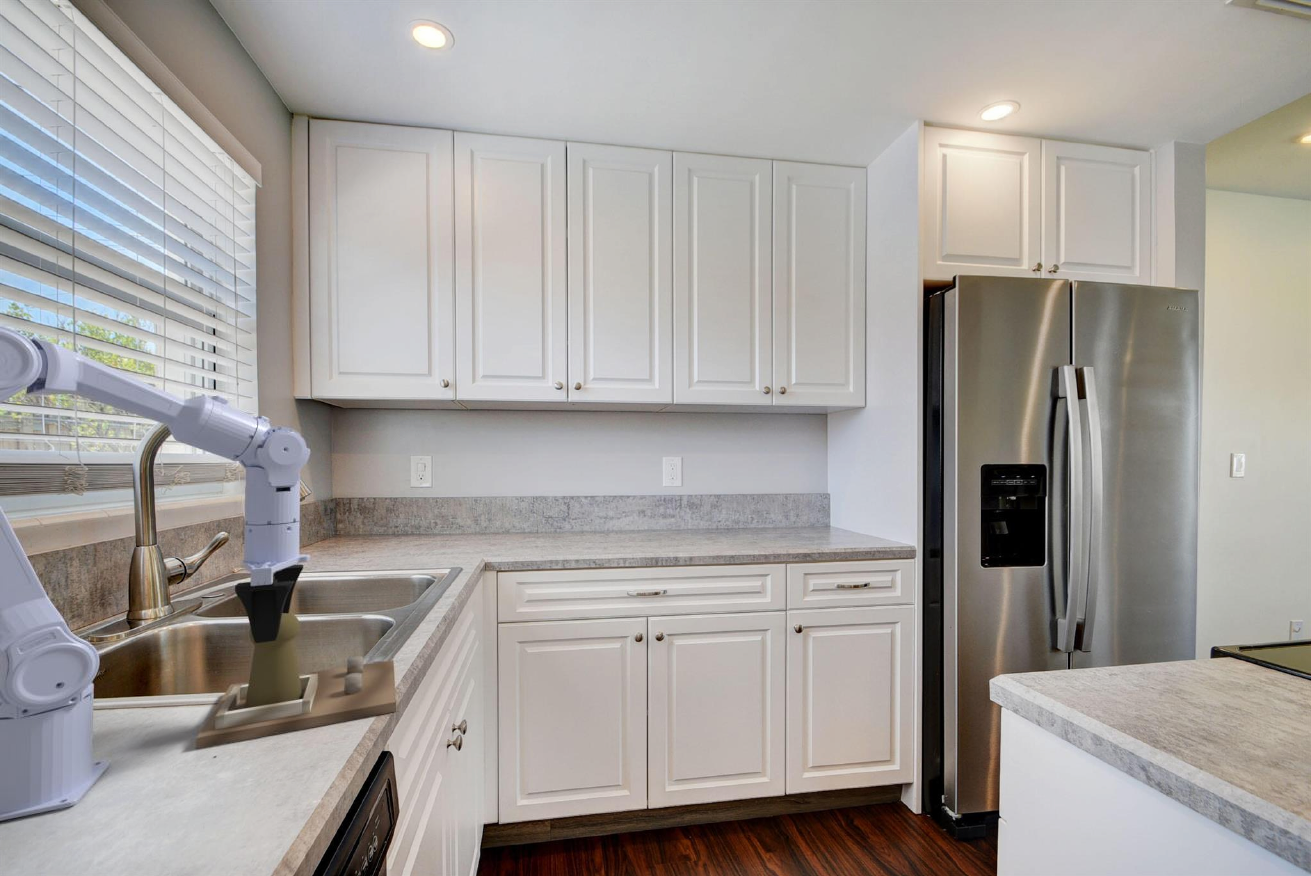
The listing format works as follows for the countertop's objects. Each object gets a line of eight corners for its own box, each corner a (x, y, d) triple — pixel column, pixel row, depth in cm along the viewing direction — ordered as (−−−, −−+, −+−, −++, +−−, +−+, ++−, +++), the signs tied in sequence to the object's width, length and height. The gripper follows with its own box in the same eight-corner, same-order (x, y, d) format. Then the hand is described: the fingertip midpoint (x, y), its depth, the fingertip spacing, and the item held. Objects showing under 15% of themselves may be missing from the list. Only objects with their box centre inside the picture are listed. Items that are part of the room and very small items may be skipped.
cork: (235, 718, 67) (236, 624, 67) (255, 697, 73) (255, 611, 73) (294, 711, 69) (295, 619, 69) (308, 691, 74) (309, 606, 75)
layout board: (196, 748, 62) (196, 719, 62) (230, 693, 77) (230, 669, 77) (396, 711, 71) (396, 685, 71) (393, 667, 85) (393, 646, 85)
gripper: (303, 527, 66) (301, 644, 66) (315, 515, 79) (314, 613, 79) (228, 531, 63) (227, 654, 63) (254, 517, 76) (253, 619, 76)
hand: (271, 632), depth 71 cm, fingers open, 7 cm apart
